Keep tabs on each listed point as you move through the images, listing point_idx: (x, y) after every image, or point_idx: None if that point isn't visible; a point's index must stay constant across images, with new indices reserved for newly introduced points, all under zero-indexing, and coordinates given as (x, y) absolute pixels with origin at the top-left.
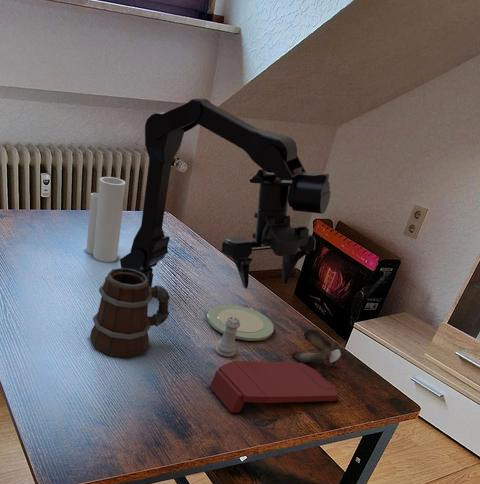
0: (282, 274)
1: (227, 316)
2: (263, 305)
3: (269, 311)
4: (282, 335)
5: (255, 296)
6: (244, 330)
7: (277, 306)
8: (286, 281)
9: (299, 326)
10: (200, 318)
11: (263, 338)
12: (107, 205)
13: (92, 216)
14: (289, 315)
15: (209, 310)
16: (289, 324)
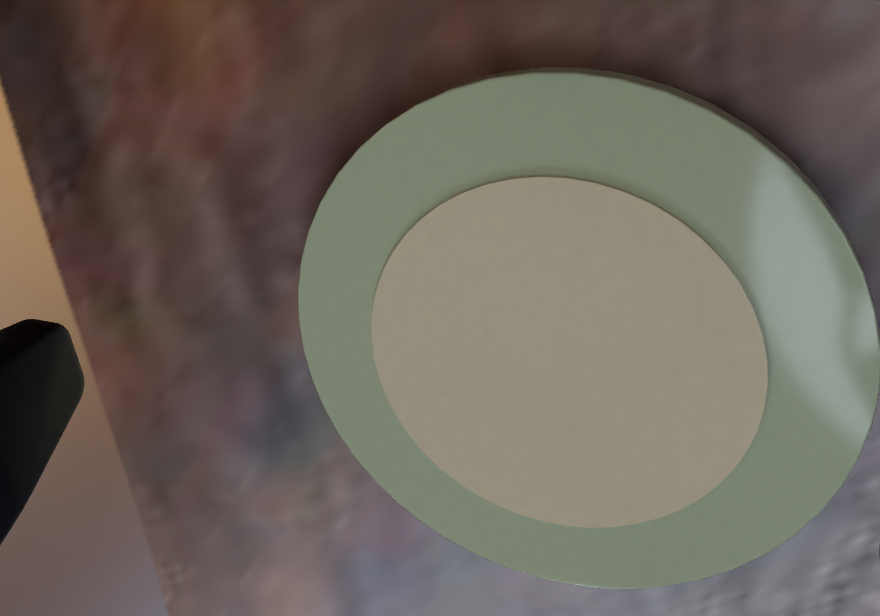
0: (2, 513)
1: (639, 449)
2: (237, 493)
3: (229, 426)
4: (279, 124)
5: (242, 583)
6: (627, 220)
7: (152, 455)
8: (5, 337)
9: (100, 208)
10: (852, 524)
11: (501, 74)
12: None
13: None
14: (116, 346)
15: (736, 566)
16: (160, 250)
